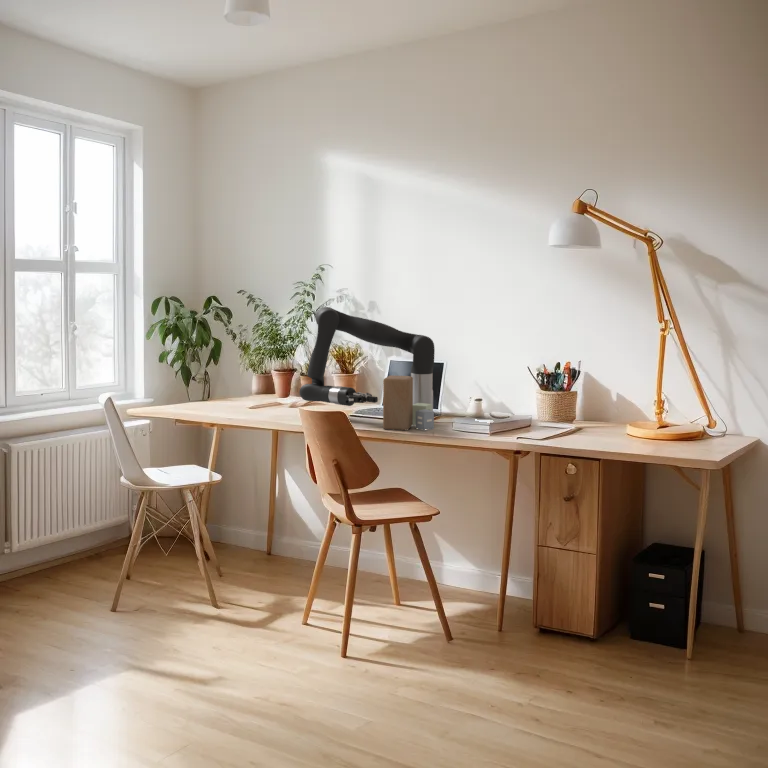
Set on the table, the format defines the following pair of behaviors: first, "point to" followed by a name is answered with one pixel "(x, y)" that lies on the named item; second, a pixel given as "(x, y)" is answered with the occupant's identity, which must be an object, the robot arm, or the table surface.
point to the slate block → (425, 419)
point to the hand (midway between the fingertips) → (376, 399)
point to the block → (397, 402)
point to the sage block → (420, 407)
